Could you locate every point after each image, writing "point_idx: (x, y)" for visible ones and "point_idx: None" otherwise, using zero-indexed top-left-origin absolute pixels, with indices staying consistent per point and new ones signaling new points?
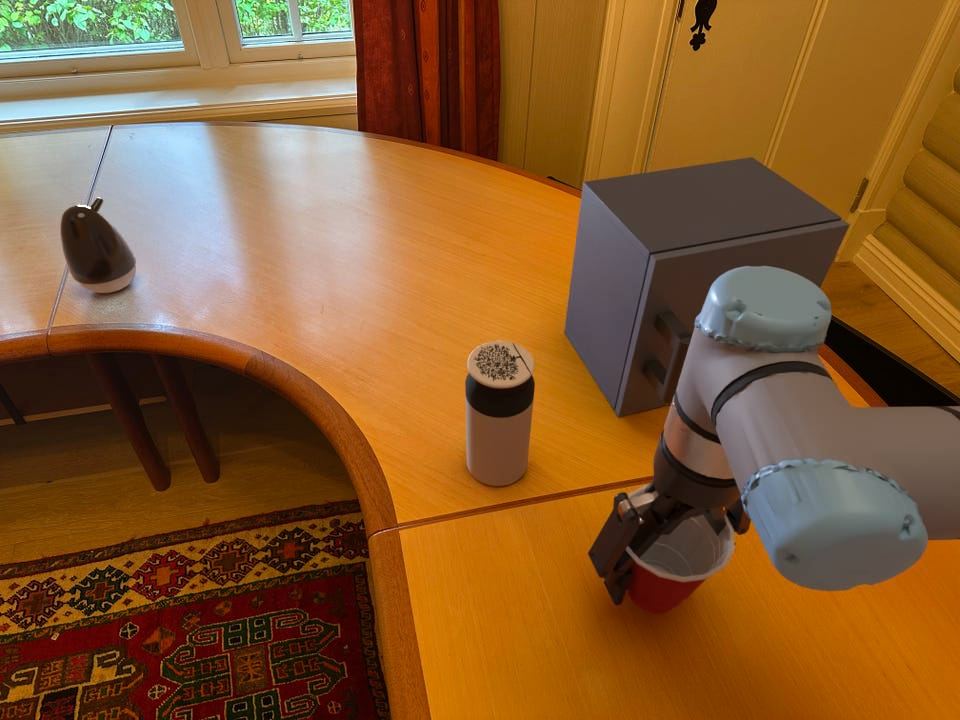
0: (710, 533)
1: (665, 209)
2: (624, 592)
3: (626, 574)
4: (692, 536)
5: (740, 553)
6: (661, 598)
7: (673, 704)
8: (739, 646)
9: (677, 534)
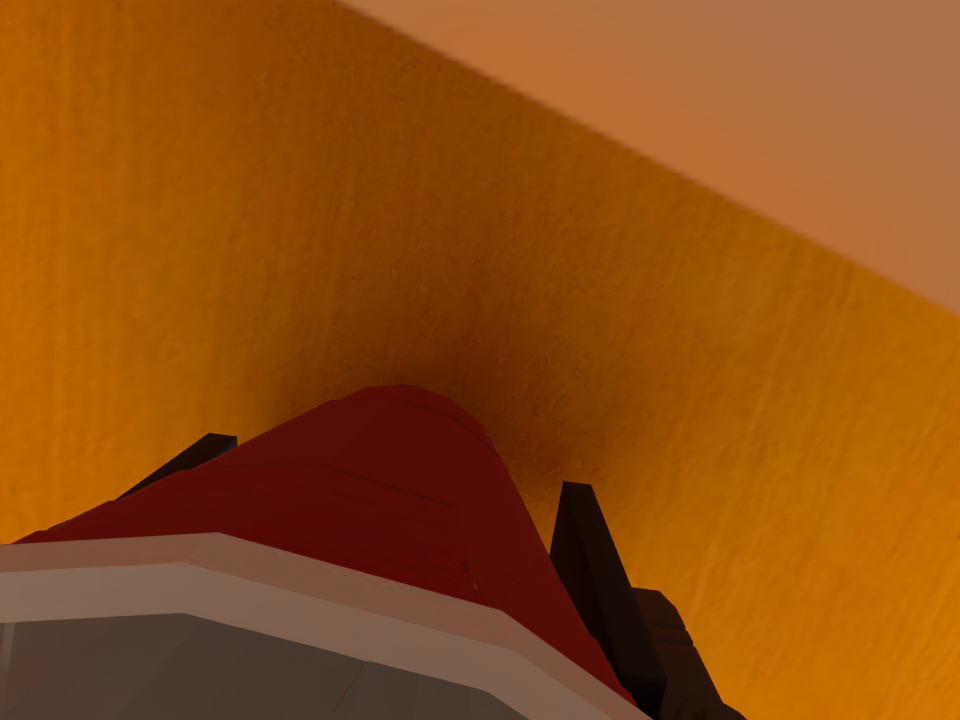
0: None
1: None
2: (589, 538)
3: (660, 683)
4: (130, 670)
5: (32, 439)
6: (475, 455)
7: (553, 133)
8: (228, 188)
9: (203, 679)
